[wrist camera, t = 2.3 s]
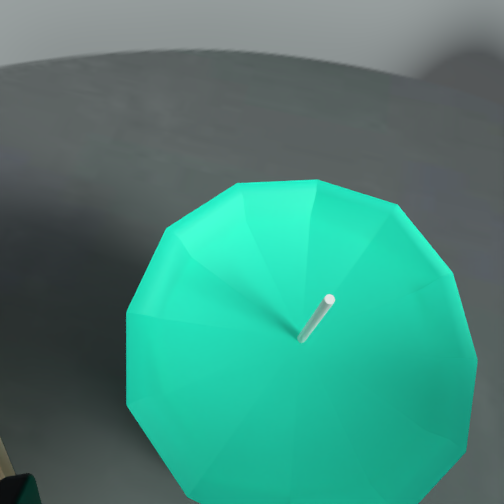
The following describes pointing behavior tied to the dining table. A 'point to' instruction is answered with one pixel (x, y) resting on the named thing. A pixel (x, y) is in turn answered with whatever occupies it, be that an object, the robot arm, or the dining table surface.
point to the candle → (300, 350)
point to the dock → (5, 463)
